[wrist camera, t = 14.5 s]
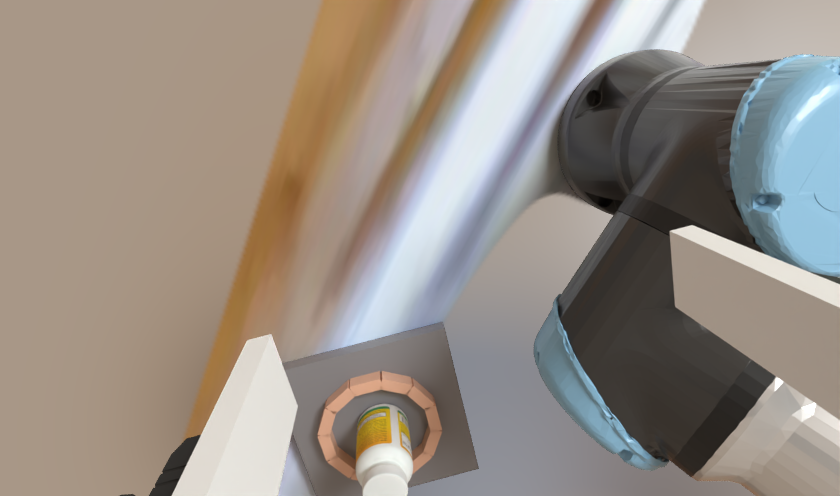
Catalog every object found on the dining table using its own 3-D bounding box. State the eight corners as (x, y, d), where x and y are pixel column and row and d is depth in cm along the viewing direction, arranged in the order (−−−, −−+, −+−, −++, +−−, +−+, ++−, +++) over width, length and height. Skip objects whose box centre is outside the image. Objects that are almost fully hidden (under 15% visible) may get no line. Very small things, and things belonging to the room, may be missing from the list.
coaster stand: (442, 321, 51) (447, 335, 48) (475, 459, 57) (481, 478, 54) (272, 366, 50) (266, 382, 48) (323, 500, 56) (320, 521, 53)
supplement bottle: (416, 411, 52) (427, 478, 43) (394, 451, 53) (400, 524, 44) (369, 394, 51) (370, 459, 42) (348, 435, 52) (344, 507, 43)
